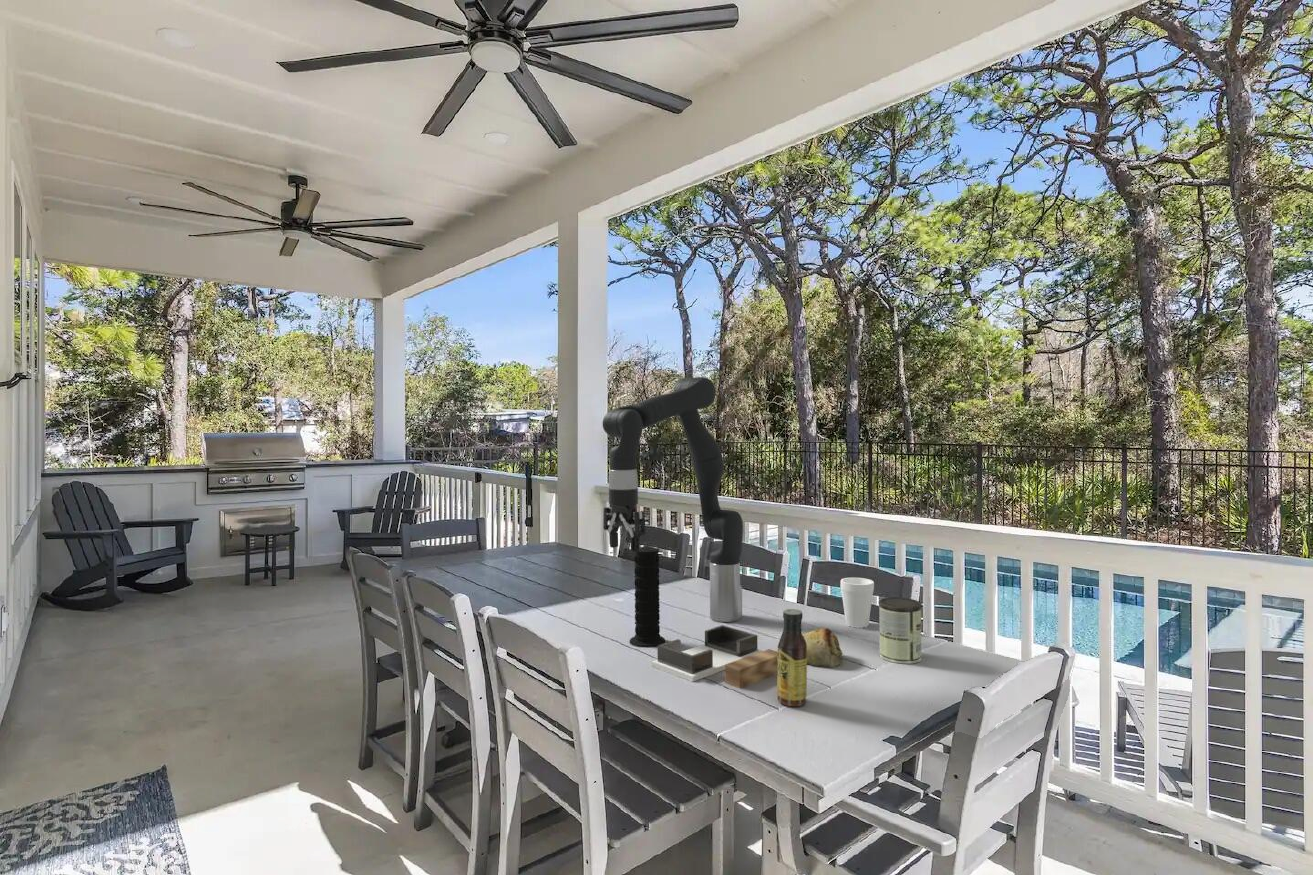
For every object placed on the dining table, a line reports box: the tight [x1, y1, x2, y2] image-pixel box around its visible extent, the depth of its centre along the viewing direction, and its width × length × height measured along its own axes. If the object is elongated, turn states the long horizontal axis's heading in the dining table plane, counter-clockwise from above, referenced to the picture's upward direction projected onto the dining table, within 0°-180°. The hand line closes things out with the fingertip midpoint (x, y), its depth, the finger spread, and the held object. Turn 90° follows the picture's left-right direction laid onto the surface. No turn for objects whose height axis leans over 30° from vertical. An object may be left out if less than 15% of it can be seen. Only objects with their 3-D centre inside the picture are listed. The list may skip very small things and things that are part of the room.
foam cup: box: [840, 577, 875, 629], centre depth 202 cm, size 10×9×13 cm
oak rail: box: [724, 648, 778, 689], centre depth 162 cm, size 16×4×4 cm, turn 132°
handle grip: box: [629, 545, 667, 648], centre depth 188 cm, size 10×26×10 cm
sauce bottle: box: [776, 608, 808, 708], centre depth 147 cm, size 7×6×20 cm
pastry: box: [802, 627, 844, 668], centre depth 174 cm, size 14×12×8 cm
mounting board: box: [651, 643, 764, 682], centre depth 173 cm, size 26×14×1 cm, turn 133°
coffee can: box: [878, 596, 923, 665], centre depth 175 cm, size 10×10×14 cm
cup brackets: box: [657, 624, 758, 674], centre depth 173 cm, size 24×12×4 cm, turn 133°
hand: (624, 549), depth 178 cm, fingers open, 8 cm apart
